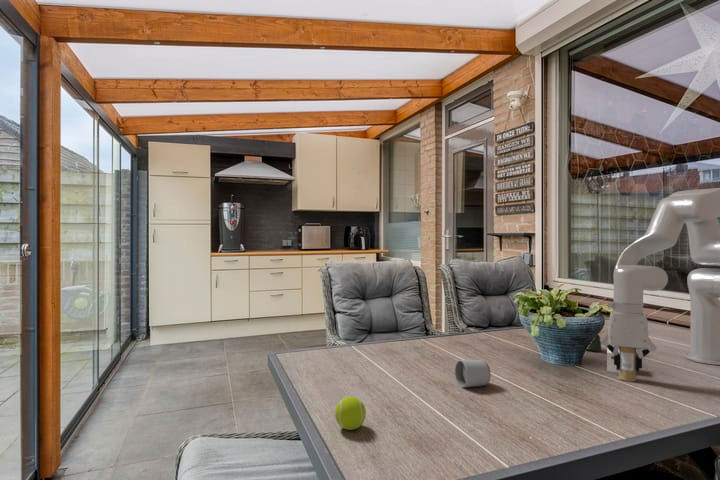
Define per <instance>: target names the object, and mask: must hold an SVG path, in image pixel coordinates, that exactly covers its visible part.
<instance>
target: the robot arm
mask: <svg viewBox="0 0 720 480" xmlns="http://www.w3.org/2000/svg"><path fill="white" fill-rule="evenodd" d="M719 217H720V187H713V188H698V189H697V188H696V189H686V190H679V191H675V192H673V193H671V194H670V195H669V196H666V197H664V198H661V200H660V201H659V202H658V203H657V206H656V208H655V211H654V213H653V215H652V217H651V219H650V222H649V224H648V226H647V228H646V232H645V234H644V235H642V236H640V237H639V238H638V239H636V240H635V241H633V242H632V243H631V244H630V245H628V246H627V247H625V249H623V251H622V252H621V254H620V255H619V257H618V260H617V262H616V264H615V266H614V270H613V276H612V277H613V302H608V303H607V306H608V307H607V308H610V309H612V311H610V314H609V320H608V332H607V334H605V336H603V338H602V339H600V341H601V345H603V346H604V347H605V348H606V349H607V348H608V349H609V350H610V351H611V352H612V353H613V354H614V365H617V369H619V352H618V351H619V347H628V348H636V372H638V373H639V372H640V369H642V368H643V359H644V357H645V356H647V355H649V354H650V353H652V352H654V351H656V350H657V346H656V345H655V344H654V342H653V341H652V340H651V338H650V337H649V323H648V318H647V314H646V313H644V291H646V292H647V291H648V292H657V291H661V290H663V289H664V288H665V287H666V286H667V285H668V281H669V276H668V273H667V272H666V271H665V270H664V269H663V268H661V267H658V266H653V265H643V264H638V263H639V262H640V261H641V260H642V259H644V258H645V257H647V256H650V255H653V254H656V253H659V252H661V251H662V252H663V251H664V250H667V249H671V248H672V247H674V246H675V245H676V244H677V242H678V239H679V236H680V234H681V232H682V230H683V227H684V225H686V227H687V228H686V229H687V235H688V245H689V254H690V258H691V260H692V262H694V263H695V264H697V265H700V266H701V265H702V266H703V265H704V266H715V267H717V266H718V267H720V223H719V222H720V221H719V220H718V218H719ZM686 278H687V279H686V280H687V281H686V282H687V288H688V293H689V301H690V316H689V317H690V318H689V319H690V320H689V321H690V325H689V326H690V327H689V329H690V331H689V332H690V335H689V337H690V338H689V339H690V343H689V345H690V346H689V347H690V348H689V349H690V350H689V351H687V352H685V353H684V357H685V358H686V360H687V359H688V360H689V361H692V362H697V363H699V364H700V363H701V364H708V365H716V366H720V268H709V267H708V268H707V267H705V268H703V267H700V268H699V267H698V268H696V269H692V270H691V271H690V272H689V273H688V275H687V277H686Z"/></svg>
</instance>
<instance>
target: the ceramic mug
mask: <svg viewBox="0 0 720 480" xmlns="http://www.w3.org/2000/svg"><path fill="white" fill-rule="evenodd" d="M454 367H455V368H454V374H455V375H454V376H455V380H456V383H457V385H458V386H459V387H460V388H472V387H482V386H486V385H488V384H489V383H490V381H491V375H492V374H491V370H490V369H491V368H490V366H489V364H488V363H487V362H486V361H485V360H482V359H458V360H457V361H456V364H455V366H454Z"/></svg>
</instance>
